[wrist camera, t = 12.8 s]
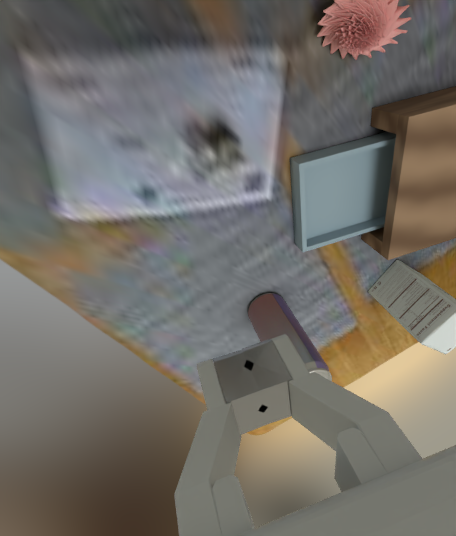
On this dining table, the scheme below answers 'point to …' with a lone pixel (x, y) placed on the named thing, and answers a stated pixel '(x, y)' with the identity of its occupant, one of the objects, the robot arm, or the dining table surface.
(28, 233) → the dining table surface
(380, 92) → the dining table surface
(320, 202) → the grey-blue tray
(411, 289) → the supplement box
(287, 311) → the beverage can
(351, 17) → the flower
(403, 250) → the cubby
